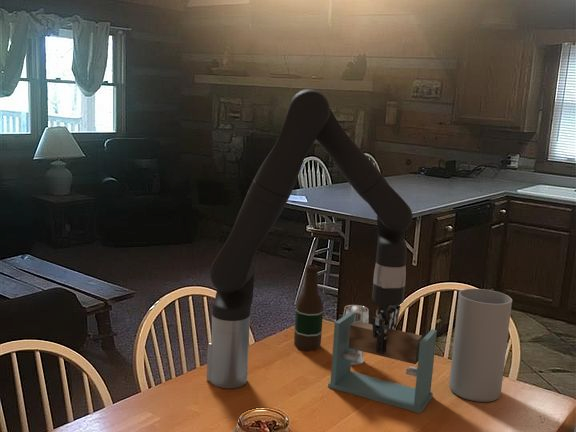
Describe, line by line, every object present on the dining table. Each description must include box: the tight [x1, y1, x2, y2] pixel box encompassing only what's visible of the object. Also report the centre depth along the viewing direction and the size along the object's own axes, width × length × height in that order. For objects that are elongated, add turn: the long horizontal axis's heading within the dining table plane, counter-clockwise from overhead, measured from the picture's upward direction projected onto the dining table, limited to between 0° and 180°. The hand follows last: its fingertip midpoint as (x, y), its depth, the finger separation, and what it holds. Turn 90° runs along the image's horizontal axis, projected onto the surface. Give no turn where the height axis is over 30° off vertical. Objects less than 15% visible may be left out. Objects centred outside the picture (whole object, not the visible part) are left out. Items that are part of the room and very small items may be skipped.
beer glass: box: [342, 304, 370, 366], centre depth 171 cm, size 7×7×15 cm
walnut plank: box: [349, 321, 423, 365], centre depth 152 cm, size 17×4×6 cm, turn 62°
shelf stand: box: [327, 312, 438, 414], centre depth 152 cm, size 24×10×17 cm, turn 62°
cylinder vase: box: [448, 288, 513, 403], centre depth 155 cm, size 12×12×25 cm
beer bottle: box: [293, 264, 324, 352], centre depth 179 cm, size 8×8×24 cm
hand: (383, 350), depth 152 cm, fingers closed on walnut plank, 3 cm apart
